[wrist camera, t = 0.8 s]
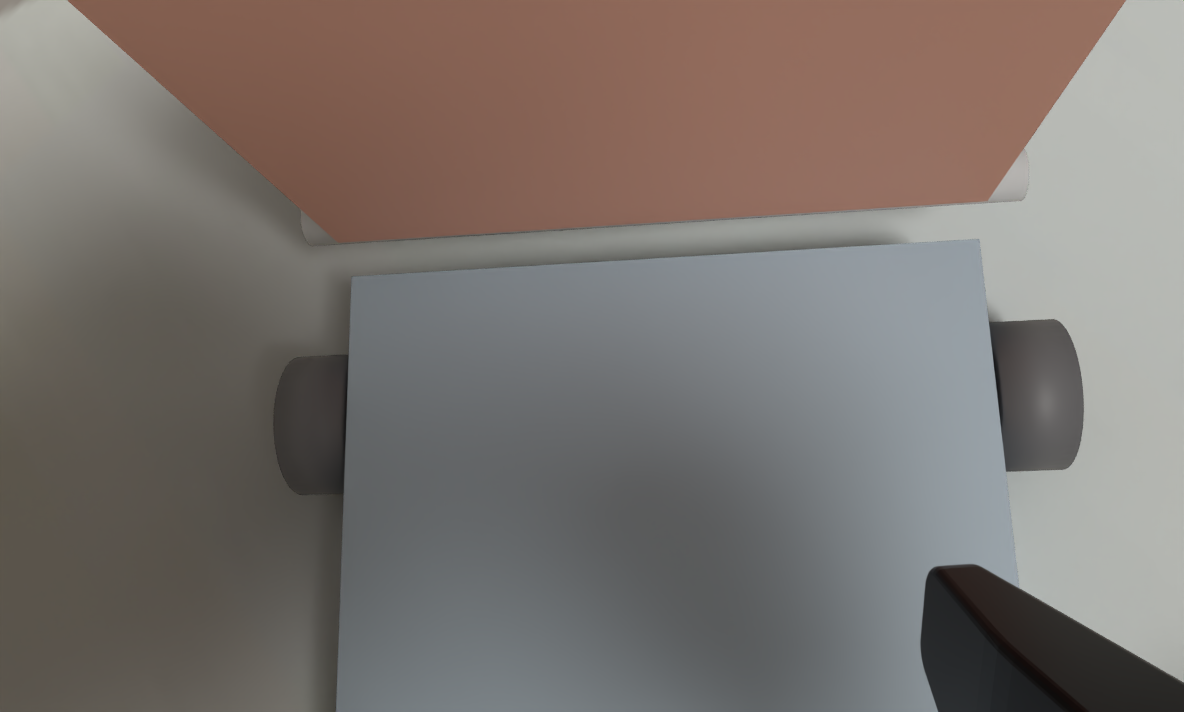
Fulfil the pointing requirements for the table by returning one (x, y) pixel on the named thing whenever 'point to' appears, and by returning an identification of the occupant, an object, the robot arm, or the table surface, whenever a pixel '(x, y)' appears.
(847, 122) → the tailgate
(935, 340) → the cart bed
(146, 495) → the table surface
